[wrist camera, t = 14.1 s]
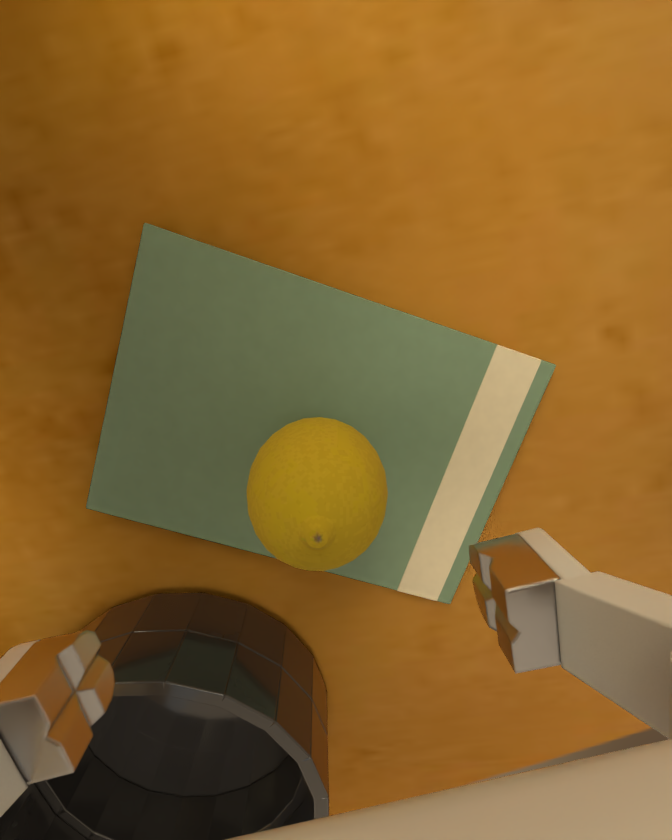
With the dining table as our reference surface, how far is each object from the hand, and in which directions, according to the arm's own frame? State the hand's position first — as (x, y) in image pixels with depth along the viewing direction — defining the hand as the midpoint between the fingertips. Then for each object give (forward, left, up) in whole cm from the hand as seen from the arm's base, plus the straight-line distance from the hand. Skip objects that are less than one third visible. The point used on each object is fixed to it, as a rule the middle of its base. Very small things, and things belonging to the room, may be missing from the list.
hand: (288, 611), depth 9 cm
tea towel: (0, +1, -12) cm, 12 cm away
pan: (-2, -17, -12) cm, 21 cm away
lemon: (+1, 0, -12) cm, 12 cm away
